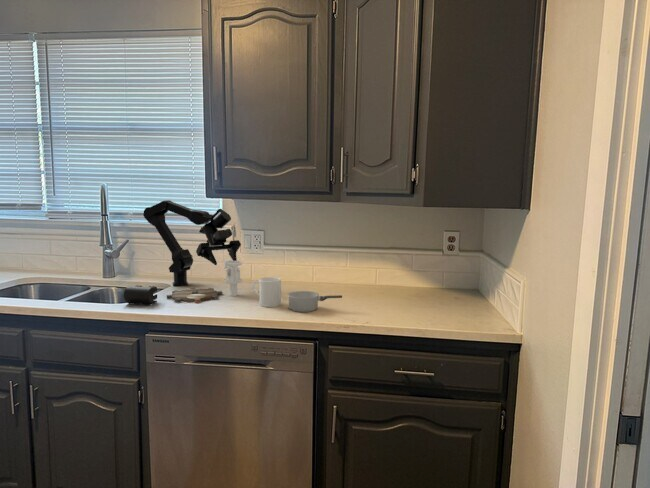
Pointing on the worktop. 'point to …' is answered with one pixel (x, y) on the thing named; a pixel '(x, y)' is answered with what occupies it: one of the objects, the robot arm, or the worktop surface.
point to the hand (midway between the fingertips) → (226, 263)
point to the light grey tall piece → (232, 275)
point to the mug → (269, 291)
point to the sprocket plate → (194, 295)
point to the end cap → (140, 295)
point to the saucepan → (306, 300)
